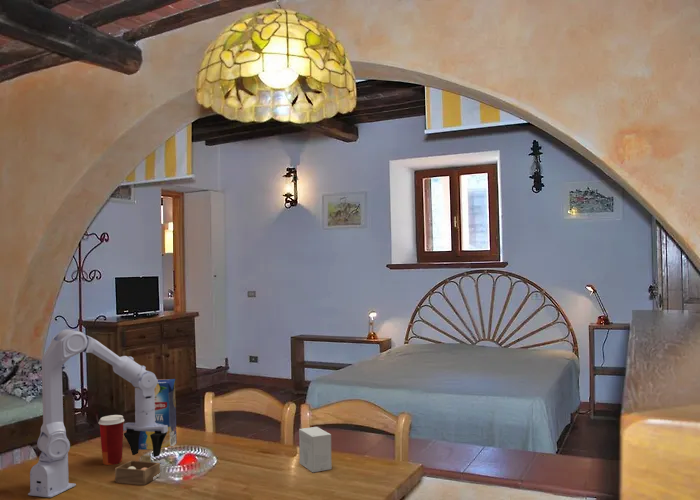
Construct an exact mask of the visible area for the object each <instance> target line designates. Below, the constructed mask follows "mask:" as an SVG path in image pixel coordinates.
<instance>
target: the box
mask: <svg viewBox="0 0 700 500" xmlns="http://www.w3.org/2000/svg"><path fill="white" fill-rule="evenodd" d="M160 463H161V462H156V461H155V462H154V461H153V462H152V461H151V462H143V461H141V460H129V461H127V462H125V463H123V464H120V465H118V466H116V467H115V468H114V480H115V483H118V484H119V483H120V484H127V485H128V484H129V485H140V486H146V485H149V484H150V483H152V482H153V477H154V476H156V475H157V474H159V473H160V474H161V470H160ZM131 466H133V467H135V468H136V469H128V468H129V467H131ZM142 468H147V469H145V470H140V469H142Z"/></svg>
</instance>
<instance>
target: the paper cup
mask: <svg viewBox="0 0 700 500" xmlns="http://www.w3.org/2000/svg"><path fill="white" fill-rule="evenodd" d="M125 422H126V421H125V419H124V416H123V415H121V414H110V415H105V416H102V417H100V419H99V421H98V422H97V423H98V424H99V432H100V433H99V434H100V435H99V436H100V447H101V457H102V464H103V465H104V466H115V465H118V464H121V463H122V462H123V449H124V447H123V446H124V430H123V424H125Z"/></svg>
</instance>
